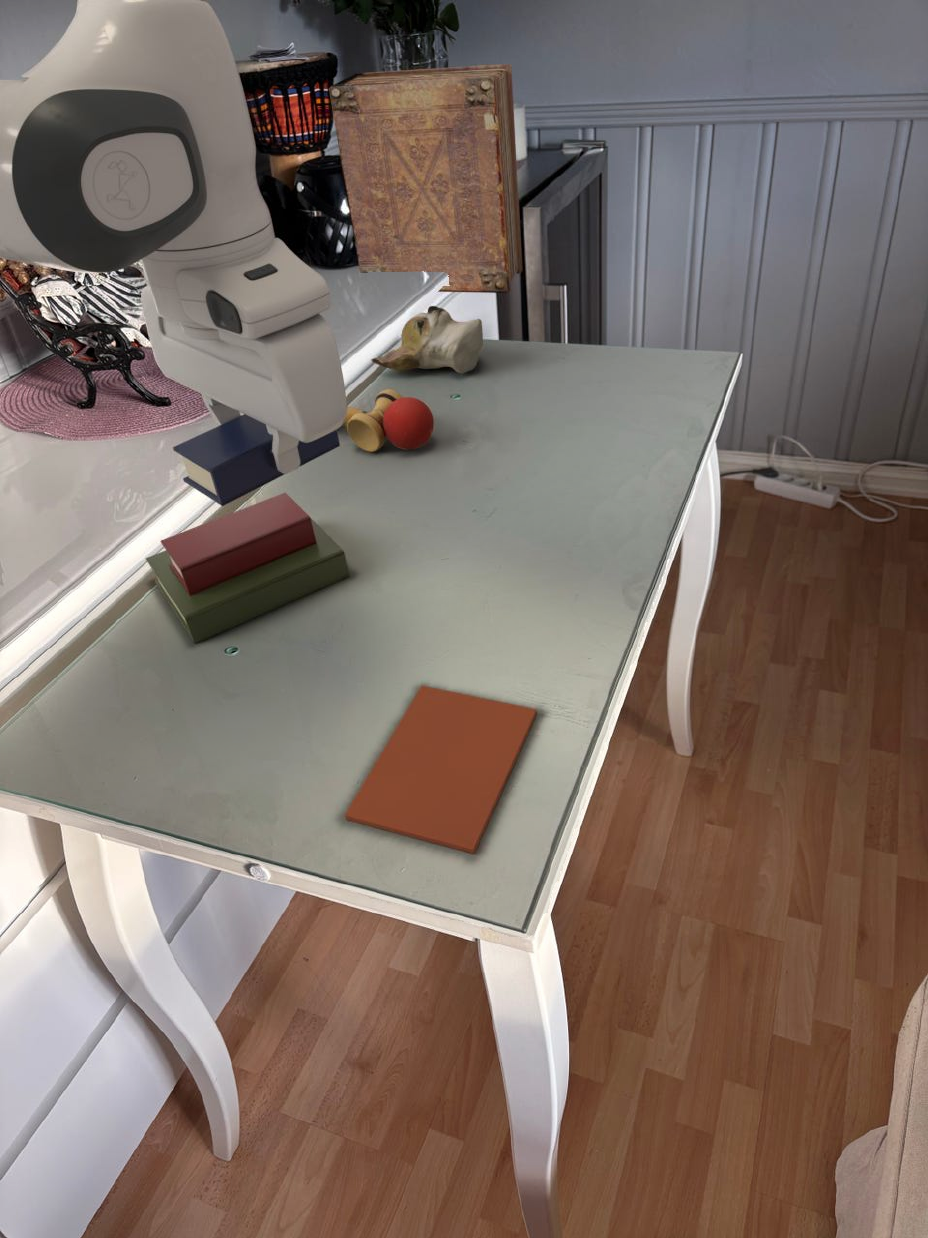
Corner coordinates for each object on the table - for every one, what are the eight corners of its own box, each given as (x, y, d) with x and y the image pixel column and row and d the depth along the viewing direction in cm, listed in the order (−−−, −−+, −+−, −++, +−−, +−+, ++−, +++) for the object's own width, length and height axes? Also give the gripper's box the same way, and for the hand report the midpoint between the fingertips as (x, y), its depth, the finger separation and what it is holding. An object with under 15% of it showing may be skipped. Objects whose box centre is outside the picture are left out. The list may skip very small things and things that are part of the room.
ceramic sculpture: (461, 322, 113) (359, 320, 119) (470, 388, 118) (373, 382, 125) (495, 292, 120) (398, 291, 127) (503, 355, 125) (409, 351, 132)
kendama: (295, 450, 113) (411, 460, 103) (285, 399, 110) (403, 404, 100) (336, 433, 118) (450, 440, 109) (327, 384, 115) (443, 387, 106)
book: (524, 272, 151) (513, 63, 132) (509, 293, 144) (495, 76, 125) (382, 271, 158) (352, 72, 139) (362, 290, 151) (328, 85, 132)
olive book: (194, 643, 83) (185, 618, 81) (154, 582, 91) (145, 558, 89) (349, 576, 89) (344, 551, 87) (299, 524, 97) (293, 500, 95)
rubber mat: (474, 854, 62) (473, 849, 62) (345, 819, 66) (344, 815, 65) (537, 713, 72) (536, 709, 72) (422, 689, 75) (421, 685, 75)
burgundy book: (190, 595, 84) (180, 569, 82) (169, 566, 88) (160, 540, 86) (316, 543, 88) (310, 517, 87) (291, 517, 93) (285, 492, 91)
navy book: (222, 506, 66) (211, 471, 64) (183, 481, 70) (172, 447, 68) (340, 445, 72) (333, 411, 70) (299, 425, 75) (291, 391, 73)
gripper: (101, 261, 66) (158, 434, 75) (262, 319, 54) (308, 517, 62) (176, 237, 69) (223, 405, 78) (344, 287, 57) (377, 479, 66)
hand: (262, 455), depth 70 cm, fingers closed on navy book, 5 cm apart
